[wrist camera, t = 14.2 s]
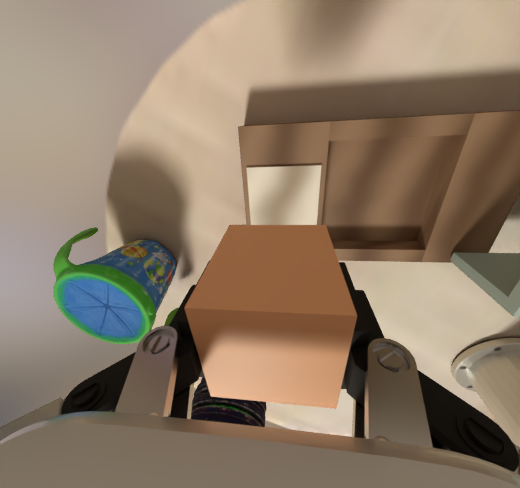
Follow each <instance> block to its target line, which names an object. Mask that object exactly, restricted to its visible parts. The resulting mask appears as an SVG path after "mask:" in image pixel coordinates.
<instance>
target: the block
mask: <svg viewBox="0 0 520 488" xmlns="http://www.w3.org/2000/svg"><path fill="white" fill-rule="evenodd" d="M184 308H185V312H186V315H187V318H188V322H189V325H190V329H191V332H192V335H193V339H194V342H195V345H196V349H197V352H198V355H199V359H200V362H201V365H202V369H203V372H204V375H205V379H206V382H207V385H208V389H209V392H210V396H211V397H221V398H232V399H242V400H252V401H263V402H273V403H284V404H294V405H304V406H315V407H325V408H337V403H338V399H339V395H340V390H341V386H342V381H343V377H344V372H345V368H346V364H347V359H348V355H349V350H350V346H351V342H352V337H353V333H354V328H355V324H356V320H357V313H356V311H355V308H354V305H353V302H352V299H351V296H350V293H349V290H348V287H347V285H346V282H345V279H344V276H343V273H342V270H341V267H340V264H339V262H338V259H337V256H336V253H335V250H334V247H333V244H332V241H331V239H330V236H329V233H328V230H327V227H326V225H229V227H228V229H227V231H226V233H225V234H224V236H223V238H222V240H221V242H220V244H219V245H218V247H217V249H216V251H215V253H214V255H213V256H212V258H211V260H210V262H209V264H208V265H207V267H206V269H205V271H204V273H203V275H202V276H201V278H200V280H199V282H198V284H197V286H196V287H195V289H194V291H193V293H192V295H191V297H190V298H189V300H188V302H187V304H186V306H185V307H184Z"/></svg>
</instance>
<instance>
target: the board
mask: <svg viewBox="0 0 520 488" xmlns="http://www.w3.org/2000/svg"><path fill="white" fill-rule="evenodd" d="M238 132H239V143H240V154H241V165H242V177H243V188H244V199H245V211H246V222H247V225H326V227H327V230H328V233H329V236H330V239H331V241H332V244H333V247H334V250H335V253H336V256H337V259H338V260H347V261H400V262H451V261H450V260H451V257H452V255H453V253H454V252H457V253H488V252H489V250H490V249H491V247H492V245H493V243H494V241H495V239H496V237H497V235H498V233H499V231H500V230H501V228H502V226H503V224H504V222H505V220H506V218H507V216H508V214H509V212H510V210H511V209H512V207H513V205H514V203H515V201H516V199H517V197H518V195H519V193H520V110H513V111H495V112H478V113H460V114H442V115H425V116H407V117H389V118H372V119H354V120H336V121H319V122H301V123H283V124H266V125H248V126H239V127H238Z"/></svg>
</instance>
